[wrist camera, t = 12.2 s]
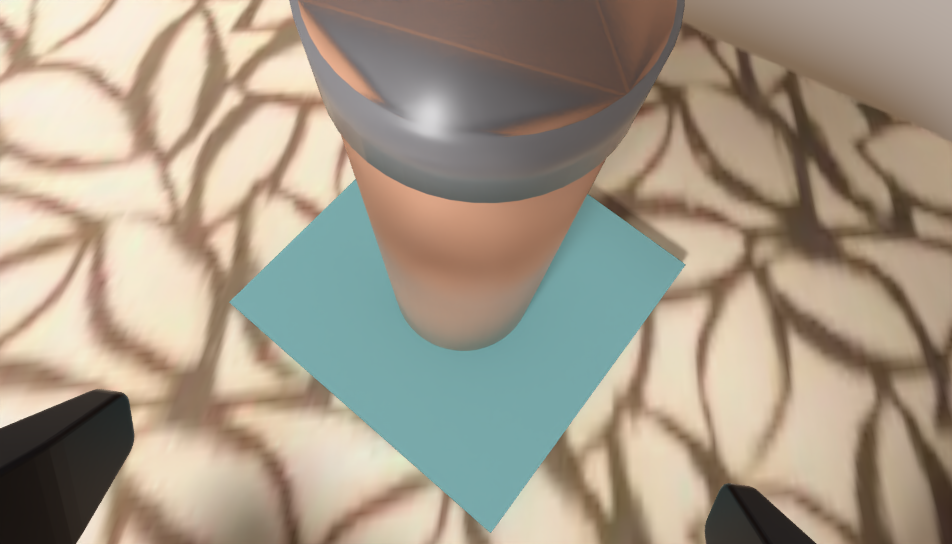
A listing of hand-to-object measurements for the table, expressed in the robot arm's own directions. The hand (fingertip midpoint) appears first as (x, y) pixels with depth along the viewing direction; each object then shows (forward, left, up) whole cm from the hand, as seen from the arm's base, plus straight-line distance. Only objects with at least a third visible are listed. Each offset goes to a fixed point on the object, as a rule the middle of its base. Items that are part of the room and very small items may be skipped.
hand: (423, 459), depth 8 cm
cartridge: (+3, -5, -11) cm, 12 cm away
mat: (+3, -5, -11) cm, 13 cm away
